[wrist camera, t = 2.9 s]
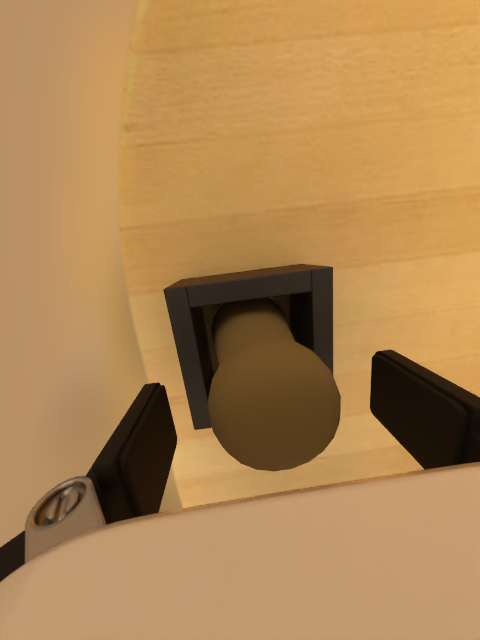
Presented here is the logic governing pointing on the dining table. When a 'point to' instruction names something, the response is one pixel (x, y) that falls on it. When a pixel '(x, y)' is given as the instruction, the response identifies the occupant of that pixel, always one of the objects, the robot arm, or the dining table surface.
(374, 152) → the dining table surface
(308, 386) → the cork
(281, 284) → the socket base
